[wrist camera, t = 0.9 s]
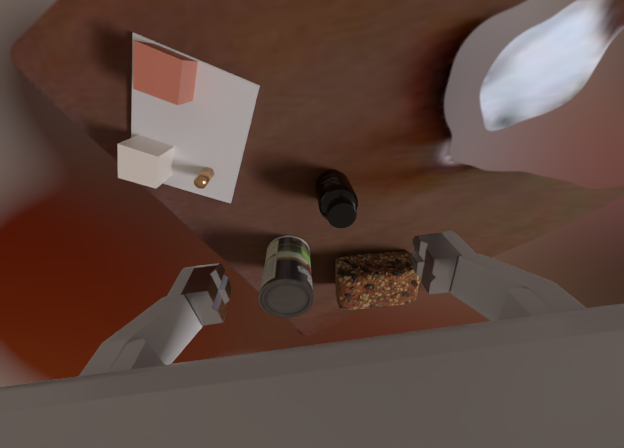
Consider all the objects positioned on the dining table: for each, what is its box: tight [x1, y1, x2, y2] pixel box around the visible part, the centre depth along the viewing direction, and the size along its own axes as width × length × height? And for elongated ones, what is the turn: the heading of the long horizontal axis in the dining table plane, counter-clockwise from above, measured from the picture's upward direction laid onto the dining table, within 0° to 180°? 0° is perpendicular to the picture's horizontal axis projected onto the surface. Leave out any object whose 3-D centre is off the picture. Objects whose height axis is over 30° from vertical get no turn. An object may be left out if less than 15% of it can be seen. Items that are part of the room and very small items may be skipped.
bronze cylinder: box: [194, 167, 214, 189], centre depth 44 cm, size 2×2×5 cm
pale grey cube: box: [117, 135, 175, 188], centre depth 41 cm, size 6×6×6 cm
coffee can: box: [259, 235, 314, 318], centre depth 52 cm, size 10×10×14 cm
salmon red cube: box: [133, 40, 198, 105], centre depth 35 cm, size 6×6×6 cm
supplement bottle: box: [316, 171, 358, 228], centre depth 45 cm, size 7×7×12 cm
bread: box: [335, 251, 421, 310], centre depth 58 cm, size 19×11×10 cm, turn 92°
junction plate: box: [131, 33, 260, 203], centre depth 42 cm, size 22×18×1 cm
